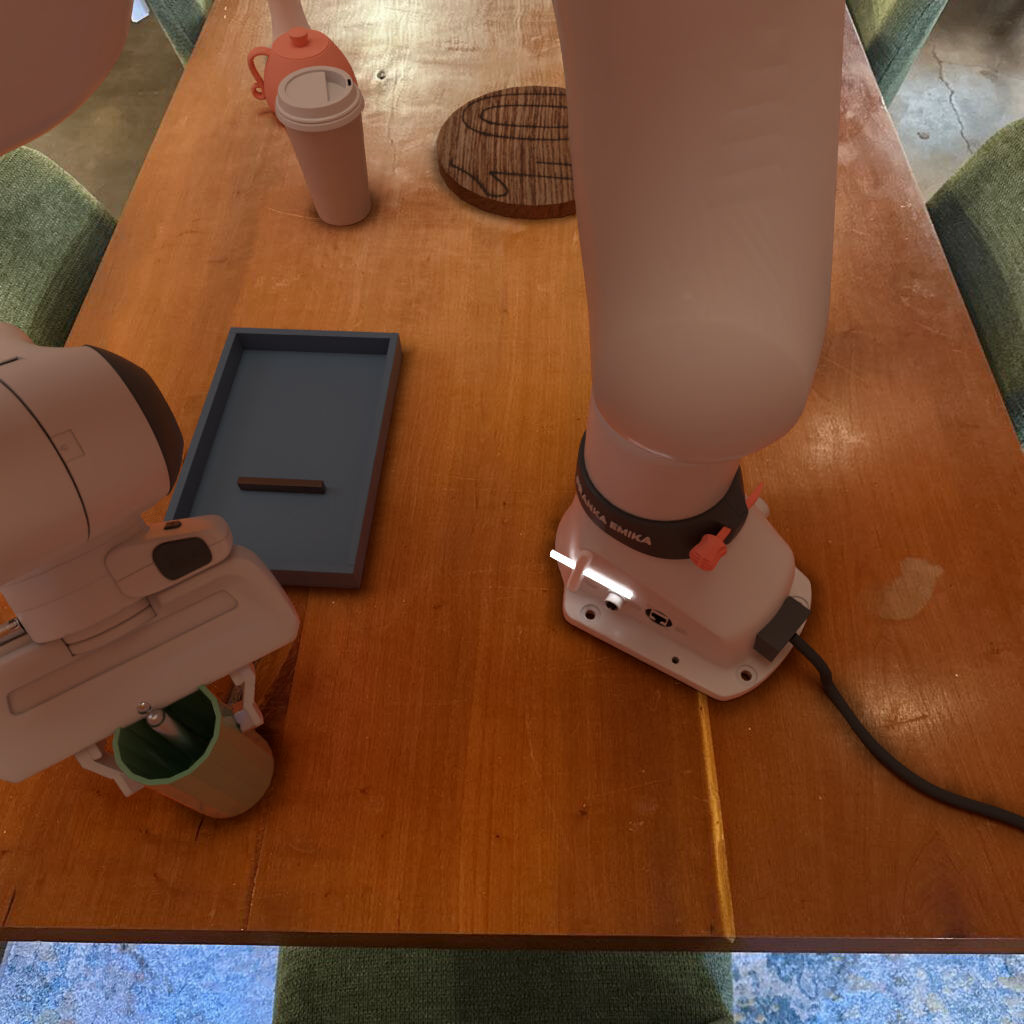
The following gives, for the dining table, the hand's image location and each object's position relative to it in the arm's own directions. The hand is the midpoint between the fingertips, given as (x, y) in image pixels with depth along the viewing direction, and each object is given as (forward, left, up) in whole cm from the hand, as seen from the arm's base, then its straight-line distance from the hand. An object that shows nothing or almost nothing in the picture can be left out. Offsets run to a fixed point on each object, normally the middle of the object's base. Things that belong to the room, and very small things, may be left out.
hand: (198, 755), depth 52 cm
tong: (+2, 0, -7) cm, 7 cm away
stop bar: (+17, -20, -7) cm, 27 cm away
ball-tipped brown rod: (-1, 0, -7) cm, 7 cm away
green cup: (+1, 0, -7) cm, 7 cm away
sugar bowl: (+63, -62, -7) cm, 89 cm away
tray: (+20, -23, -7) cm, 31 cm away
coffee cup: (+44, -51, -7) cm, 68 cm away
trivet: (+33, -74, -7) cm, 81 cm away
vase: (+75, -70, -7) cm, 103 cm away
